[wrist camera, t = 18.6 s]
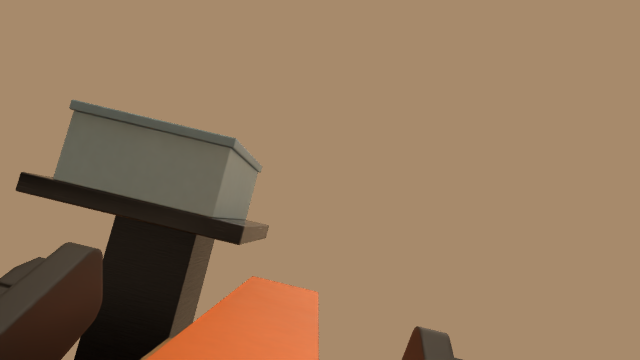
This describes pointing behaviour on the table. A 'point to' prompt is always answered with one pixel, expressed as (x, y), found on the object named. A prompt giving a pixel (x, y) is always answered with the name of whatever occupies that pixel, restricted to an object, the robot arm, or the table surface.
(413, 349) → the robot arm
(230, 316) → the orange rectangular bar
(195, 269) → the shelf stand
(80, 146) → the storage tub
